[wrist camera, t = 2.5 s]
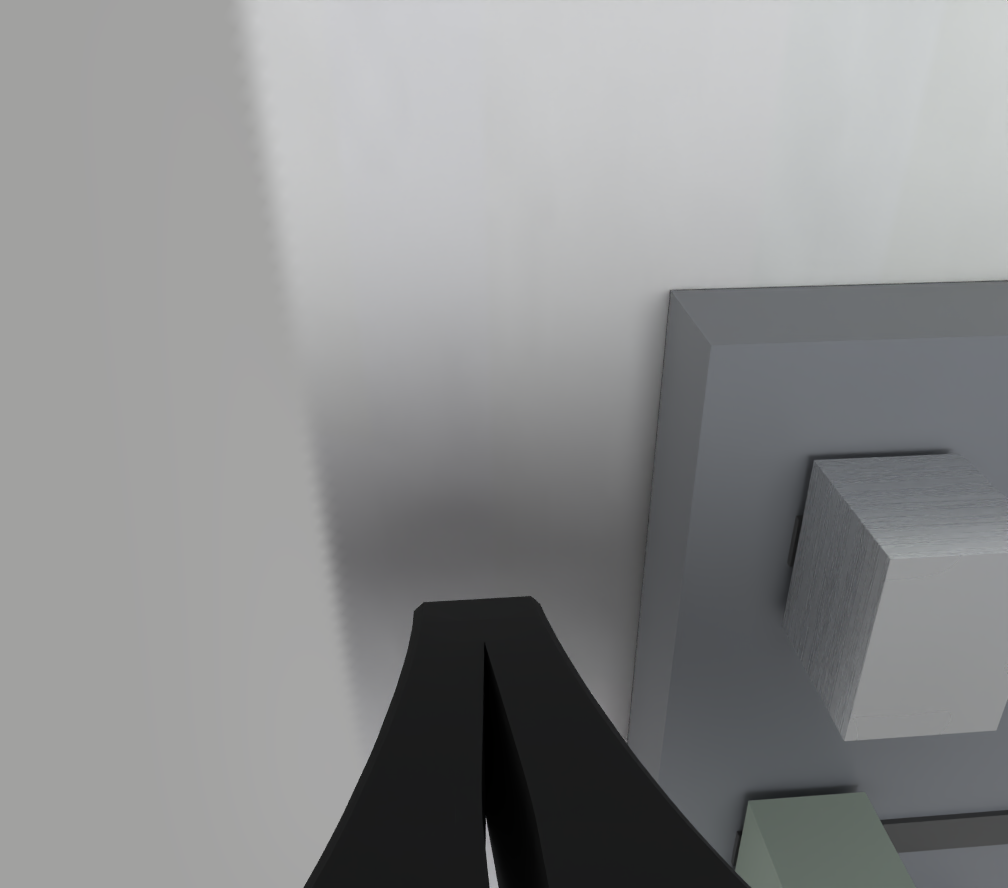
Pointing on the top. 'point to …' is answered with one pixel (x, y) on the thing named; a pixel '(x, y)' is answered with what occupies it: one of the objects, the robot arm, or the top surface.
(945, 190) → the top surface
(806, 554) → the gray cuboid pillar
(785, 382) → the control panel
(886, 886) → the sage green cuboid
